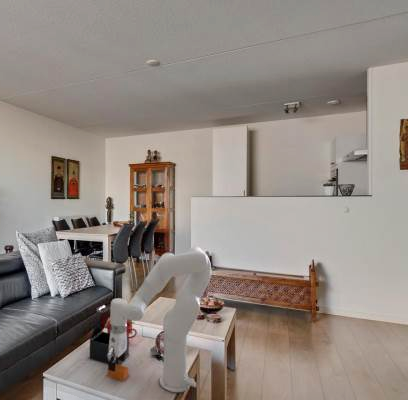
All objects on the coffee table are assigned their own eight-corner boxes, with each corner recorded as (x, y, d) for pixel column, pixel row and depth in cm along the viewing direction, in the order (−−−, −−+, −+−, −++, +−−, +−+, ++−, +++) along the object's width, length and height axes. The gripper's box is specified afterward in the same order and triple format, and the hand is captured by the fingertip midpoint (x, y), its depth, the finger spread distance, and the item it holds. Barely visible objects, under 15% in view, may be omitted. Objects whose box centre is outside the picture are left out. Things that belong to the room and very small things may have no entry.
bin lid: (114, 304, 161) (106, 299, 163) (102, 312, 150) (95, 306, 152) (102, 331, 164) (95, 325, 166) (90, 340, 153) (83, 334, 155)
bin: (128, 355, 157) (128, 337, 157) (118, 366, 146) (118, 348, 146) (101, 348, 165) (102, 331, 165) (89, 358, 153) (89, 340, 153)
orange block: (128, 375, 139) (128, 367, 139) (123, 381, 135) (123, 372, 135) (112, 370, 143) (112, 363, 143) (107, 376, 138) (107, 368, 138)
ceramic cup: (132, 351, 162) (132, 332, 162) (102, 344, 169) (103, 326, 169) (140, 341, 173) (140, 323, 173) (112, 335, 180) (112, 318, 180)
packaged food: (175, 352, 160) (175, 343, 160) (164, 362, 151) (164, 352, 151) (160, 348, 166) (160, 338, 166) (149, 356, 156) (149, 347, 156)
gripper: (117, 336, 130) (115, 377, 130) (133, 322, 145) (131, 359, 145) (101, 332, 133) (100, 372, 133) (118, 319, 148) (117, 354, 148)
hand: (116, 365), depth 139 cm, fingers open, 9 cm apart
